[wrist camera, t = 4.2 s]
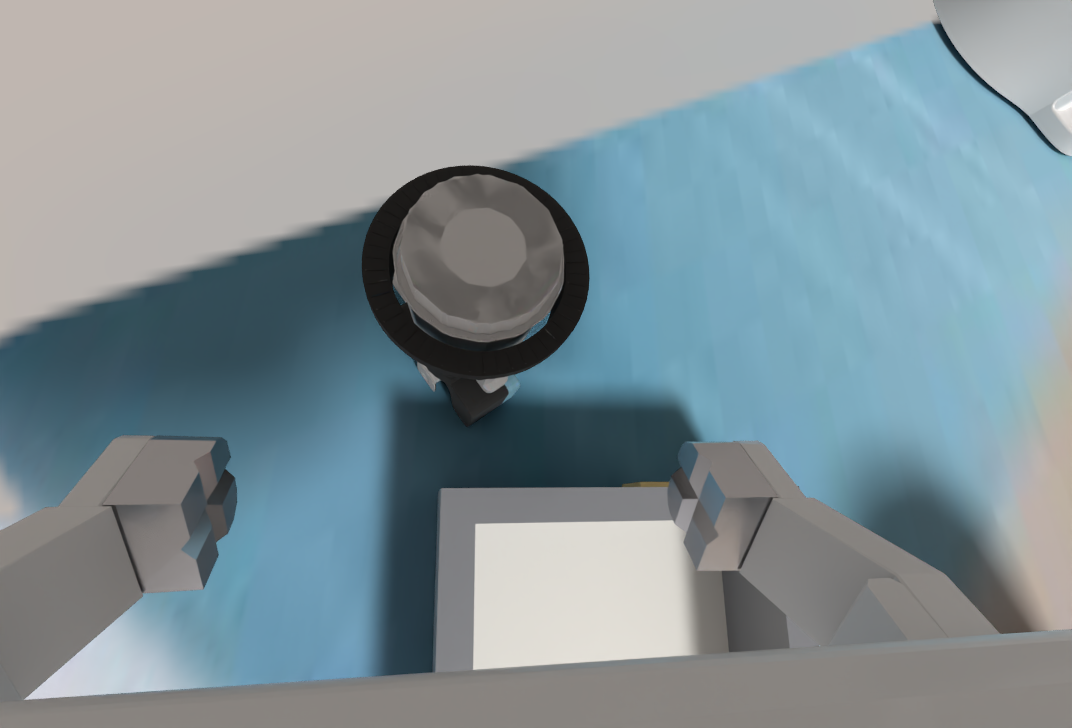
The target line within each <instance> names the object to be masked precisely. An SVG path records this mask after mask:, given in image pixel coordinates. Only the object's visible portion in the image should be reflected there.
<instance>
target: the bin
mask: <svg viewBox="0 0 1072 728" xmlns="http://www.w3.org/2000/svg"><path fill="white" fill-rule="evenodd" d="M668 485H669V482H636V483H627V484H622V487H568V488H441V489H440V490H439V492H438V510H437V541H436V572H435V603H434V634H433V665H432V672H446V671H461V670H476V669H491V668H506V667H521V666H536V665H550V664H565V663H580V662H595V661H609V660H624V659H639V658H653V657H668V656H683V655H697V654H712V653H727V652H741V651H756V650H771V649H786V648H801V647H816V646H819V644H818V643H817V642H816V641H814V640H813V639H812V638H811V637H810V636H809V635H808V634H807V633H806V632H804V631H803V630H802V629H801V628H800V627H799V626H798V625H797V624H796V623H794V622H793V621H792V620H791V619H790V618H789V617H788V616H787V615H786V614H784V613H783V612H782V611H781V610H780V609H779V608H778V607H777V606H776V605H775V604H773V603H772V602H771V601H770V600H769V599H768V598H767V597H766V596H765V595H763V594H762V593H761V592H760V591H759V590H758V589H757V588H756V587H755V586H753V585H752V584H751V583H750V582H749V581H748V580H747V579H746V578H745V577H743V576H742V575H741V574H740V573H739V572H740V571H697V570H696V568H695V566H694V564H693V562H692V560H691V557H690V555H689V553H688V551H687V549H686V547H685V545H684V543H683V542H684V539H685V536H686V532H685V531H683V530H682V529H681V528H679V527H678V526H677V525H675V524H674V521H673V519H672V517H671V515H670V511H669V507H668V498H667V489H668ZM797 487H798V488H799V486H797Z"/></svg>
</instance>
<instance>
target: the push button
mask: <svg viewBox="0 0 1072 728" xmlns="http://www.w3.org/2000/svg"><path fill="white" fill-rule="evenodd" d="M362 275H363V283H364V287H365V291H366V295H367V299H368V301H369V304H370V307H371V310H372V312H373V314H374V316H375V318H376V320H377V321H378V323H379V325H380V326H381V328H382V329H383V331H384V332H385V333H386V334H387V336H388V337H389V338H390V339H391V340H392V341H393V342H394V343H395V344H396V345H397V346H398V347H399V348H400V349H401V350H402V351H403V352H405V353H406V354H407V355H408V356H410V357H411V358H413V359H414V360H416V361H417V366H418V370H419V372H420V373H421V375H422V376H423V378H424V379H425V381H426V382H427V383H428V385H429V386H430V388H431V389H432V390H433V391H435V390H436V383H437V382H439V381H440V380H441V381H443V382H445V384H446V385H447V387H448V389H449V391H450V395H451V400H452V405H453V408H454V410H455V412H456V413H457V415H458V416H459V418H460V419H461V421H462V422H463V423H464V425H465V426H466V427H469V426H470V425H472V424H473V423H475V422H476V421H478V420H479V419H481V418H482V417H484V416H485V415H486V414H488V413H489V412H491V411H492V410H494V409H495V408H497V407H498V406H500V405H501V404H503V403H504V402H505V401H507V400H508V399H510V398H511V397H513V395H514V394H515V392H516V391H517V390H518V388H519V387H520V383H519V380H518V379H517V377H516V376H515V374H517V373H520V372H523V371H525V370H528V369H530V368H532V367H533V366H535V365H537V364H539V363H540V362H542V361H543V360H545V359H546V358H548V357H549V356H550V355H551V354H553V353H554V352H555V351H556V350H557V349H558V348H559V347H560V346H561V345H562V344H563V343H564V341H565V340H566V339H567V338H568V336H569V335H570V334H571V332H572V331H573V330H574V328H575V326H576V325H577V323H578V321H579V319H580V317H581V315H582V312H583V310H584V307H585V303H586V300H587V295H588V290H589V265H588V258H587V254H586V250H585V246H584V244H583V241H582V238H581V236H580V234H579V232H578V230H577V228H576V226H575V224H574V223H573V221H572V220H571V218H570V217H569V215H568V214H567V213H566V212H565V210H564V209H563V208H562V207H561V206H560V205H559V204H558V202H557V201H556V200H555V199H553V198H552V197H551V196H550V195H549V194H548V193H547V192H545V191H544V190H542V189H541V188H540V187H538V186H537V185H535V184H533V183H532V182H530V181H528V180H526V179H524V178H522V177H520V176H518V175H515V174H512V173H510V172H507V171H503V170H500V169H496V168H490V167H484V166H455V167H448V168H443V169H438V170H435V171H432V172H429V173H426V174H424V175H422V176H419V177H417V178H415V179H414V180H412V181H410V182H408V183H407V184H405V185H404V186H403V187H401V188H400V189H398V190H397V191H396V192H395V193H394V194H393V195H392V196H390V197H389V199H388V200H387V201H386V202H385V203H384V204H383V205H382V207H381V208H380V210H379V211H378V212H377V214H376V215H375V217H374V219H373V221H372V223H371V225H370V227H369V230H368V232H367V235H366V239H365V243H364V247H363V254H362ZM393 278H394V279H393ZM393 285H394V287H395V288H396V290H397V291H398V292H399V294H400V295H401V297H402V298H403V300H404V301H405V303H404V304H403V305H401V306H400V304H399V302H398V300H397V298H396V296H395V294H394V291H393ZM550 311H551V313H550V316H549V319H548V322H547V324H546V325H545V326H544V327H543V328H542V329H541V330H540V331H538V332H537V333H536V334H535V335H533V336H532V337H530V338H529V339H527V340H525V341H523V340H524V339H525V337H526V336H527V334H528V333H529V331H530V330H531V328H532V327H533V326H534V325H535V324H537V323H538V322H539V321H541V320H542V319H544V318H545V317H546V315H547V314H548V313H549V312H550ZM522 341H523V342H522Z"/></svg>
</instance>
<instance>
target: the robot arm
mask: <svg viewBox="0 0 1072 728" xmlns="http://www.w3.org/2000/svg"><path fill="white" fill-rule="evenodd" d="M933 2H934V6H935V9H936V11H937V14H938V17H939V19H940V21H941V23H942V25H943V27H944V29H945V31H946V33H947V35H948V37H949V38H950V40H951V41H952V43H953V45H954V46H955V47H956V49H957V50H958V52H959V53H960V54H961V56H962V57H963V58H964V59H965V61H966V62H967V63H968V64H969V65H970V66H971V68H972V69H973V70H974V71H975V72H976V73H977V74H978V75H979V76H980V77H981V78H982V79H983V80H984V81H986V82H987V83H988V84H989V85H990V86H991V87H992V88H994V89H995V90H996V91H997V92H999V93H1000V94H1001V95H1003V96H1004V97H1006V98H1007V99H1008V100H1010V101H1011V102H1013V103H1014V104H1015V105H1017V106H1018V107H1019V108H1020V109H1022V110H1023V111H1024V112H1025V113H1026V114H1027V115H1029V117H1030V118H1031V119H1032V120H1033V122H1034V123H1035V124H1036V125H1037V127H1038V128H1039V129H1040V130H1041V132H1042V133H1043V134H1044V135H1045V136H1046V138H1047V139H1048V140H1049V141H1050V142H1051V143H1052V144H1053V145H1054V146H1055V147H1056V148H1057V149H1058V150H1059V151H1061V152H1062V153H1064V154H1066V155H1069V156H1072V0H933ZM230 458H231V456H230V451H229V447H228V443H227V441H226V440H225V439H223V438H222V437H188V436H138V435H122V436H120V437H117V438H115V439H114V440H113V441H112V442H111V443H110V444H109V445H108V447H107V448H106V449H105V450H104V451H103V453H102V454H101V455H100V456H99V457H98V459H97V460H96V461H95V462H94V464H93V465H92V466H91V467H90V468H89V470H88V471H87V472H86V473H85V475H84V476H83V477H82V478H81V479H80V481H79V482H78V483H77V484H76V485H75V487H74V488H73V489H72V490H71V492H70V493H69V494H68V495H67V496H66V498H65V499H64V500H63V501H62V502H61V504H60V505H59V506H58V507H46V508H44V509H42V510H40V511H38V512H36V513H34V514H32V515H30V516H28V517H26V518H24V519H22V520H20V521H18V522H16V523H15V524H13V525H11V526H9V527H7V528H5V529H3V530H1V531H0V728H1072V629H1069V630H1054V631H1039V632H1024V633H1010V634H1000V633H999V632H998V631H997V630H996V629H995V627H994V626H993V625H992V624H991V623H990V622H989V621H988V620H987V619H986V618H985V617H984V616H983V614H982V613H981V612H980V611H979V610H978V609H977V608H976V607H975V606H974V605H973V604H972V603H971V601H970V600H969V599H968V598H967V597H966V596H965V595H964V594H963V593H962V592H961V591H960V590H959V589H958V587H957V586H956V585H955V584H954V583H953V582H952V581H951V580H950V579H949V578H948V577H947V576H946V574H944V573H942V572H941V571H939V570H937V569H936V568H934V567H932V566H930V565H929V564H927V563H925V562H923V561H922V560H920V559H918V558H917V557H915V556H913V555H911V554H910V553H908V552H906V551H905V550H903V549H901V548H899V547H898V546H896V545H894V544H892V543H891V542H889V541H887V540H886V539H884V538H882V537H880V536H879V535H877V534H875V533H873V532H872V531H870V530H868V529H867V528H865V527H863V526H861V525H860V524H858V523H856V522H854V521H853V520H851V519H849V518H848V517H846V516H844V515H842V514H841V513H839V512H837V511H835V510H834V509H832V508H830V507H829V506H827V505H825V504H823V503H822V502H820V501H818V500H816V499H815V498H806V497H805V496H804V494H803V493H802V492H801V491H800V489H799V488H798V487H797V486H796V484H795V483H794V482H793V480H792V479H791V478H790V477H789V475H788V474H787V473H786V472H785V470H784V469H783V468H782V466H781V465H780V464H779V463H778V461H777V460H776V459H775V458H774V456H773V455H772V454H771V452H770V451H769V450H768V449H767V447H766V446H765V445H764V444H763V443H761V442H759V441H733V442H684V444H683V445H682V446H681V448H680V450H679V453H678V456H677V459H678V461H679V463H680V465H681V468H680V469H678V470H677V471H676V472H675V473H674V474H673V475H671V478H670V482H669V485H668V489H667V498H668V507H669V511H670V515H671V517H672V519H673V521H674V524H675V525H677V526H678V527H679V528H681V529H682V530H683V531H685V532H686V536H685V539H684V542H683V543H684V545H685V547H686V549H687V551H688V553H689V555H690V557H691V560H692V562H693V564H694V566H695V568H696V570H697V571H740V572H739V573H740V574H741V575H742V576H743V577H745V578H746V579H747V580H748V581H749V582H750V583H751V584H752V585H753V586H755V587H756V588H757V589H758V590H759V591H760V592H761V593H762V594H763V595H765V596H766V597H767V598H768V599H769V600H770V601H771V602H772V603H773V604H775V605H776V606H777V607H778V608H779V609H780V610H781V611H782V612H783V613H784V614H786V615H787V616H788V617H789V618H790V619H791V620H792V621H793V622H794V623H796V624H797V625H798V626H799V627H800V628H801V629H802V630H803V631H804V632H806V633H807V634H808V635H809V636H810V637H811V638H812V639H813V640H814V641H816V642H817V643H818V644H819V645H820V646H816V647H801V648H786V649H771V650H756V651H741V652H727V653H712V654H697V655H683V656H668V657H653V658H639V659H624V660H609V661H595V662H580V663H565V664H550V665H536V666H521V667H506V668H491V669H476V670H461V671H446V672H432V673H417V674H402V675H387V676H372V677H357V678H343V679H328V680H313V681H298V682H284V683H269V684H254V685H239V686H225V687H210V688H195V689H180V690H165V691H151V692H136V693H121V694H106V695H92V696H77V697H62V698H47V699H33V700H24V699H25V698H26V697H27V696H28V695H30V694H31V693H32V692H33V691H34V690H35V689H37V688H38V687H39V686H40V685H41V684H42V683H43V682H45V681H46V680H47V679H48V678H49V677H50V676H52V675H53V674H54V673H55V672H56V671H57V670H58V669H60V668H61V667H62V666H63V665H64V664H65V663H67V662H68V661H69V660H70V659H71V658H72V657H73V656H75V655H76V654H77V653H78V652H79V651H80V650H82V649H83V648H84V647H85V646H86V645H87V644H88V643H90V642H91V641H92V640H93V639H94V638H95V637H97V636H98V635H99V634H100V633H101V632H102V631H103V630H105V629H106V628H107V627H108V626H109V625H110V624H112V623H113V622H114V621H115V620H116V619H117V618H118V617H120V616H121V615H122V614H123V613H124V612H125V611H127V610H128V609H129V608H130V607H131V606H132V605H133V604H135V603H136V602H137V601H138V600H139V599H140V598H142V597H143V595H142V593H156V592H171V591H187V590H203V589H204V587H205V585H206V583H207V580H208V578H209V576H210V574H211V571H212V569H213V567H214V565H215V562H216V560H217V558H218V555H219V554H218V550H217V545H216V542H217V541H218V540H220V539H221V538H222V537H224V536H225V535H226V534H228V532H229V530H230V527H231V525H232V522H233V520H234V515H235V510H236V505H237V487H236V481H235V477H234V476H233V475H231V474H230V473H229V472H228V471H227V470H226V469H225V468H226V466H227V464H228V462H229V460H230Z"/></svg>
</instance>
